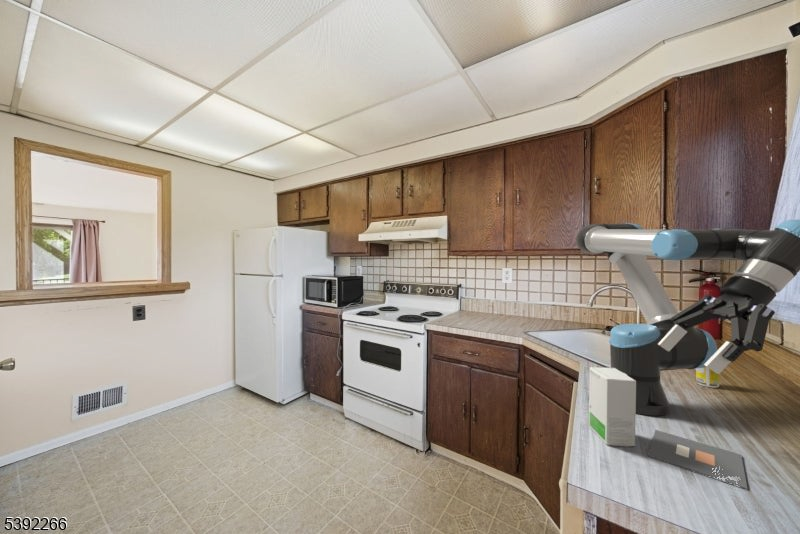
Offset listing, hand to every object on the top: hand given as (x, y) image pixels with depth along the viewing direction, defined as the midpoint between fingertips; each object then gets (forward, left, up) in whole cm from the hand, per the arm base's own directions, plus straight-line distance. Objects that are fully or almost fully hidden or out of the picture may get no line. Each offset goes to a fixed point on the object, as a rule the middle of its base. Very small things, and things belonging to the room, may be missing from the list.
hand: (684, 357), depth 68 cm
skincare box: (-13, -8, -20) cm, 25 cm away
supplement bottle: (+3, +53, -20) cm, 56 cm away
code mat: (+1, -4, -20) cm, 21 cm away
